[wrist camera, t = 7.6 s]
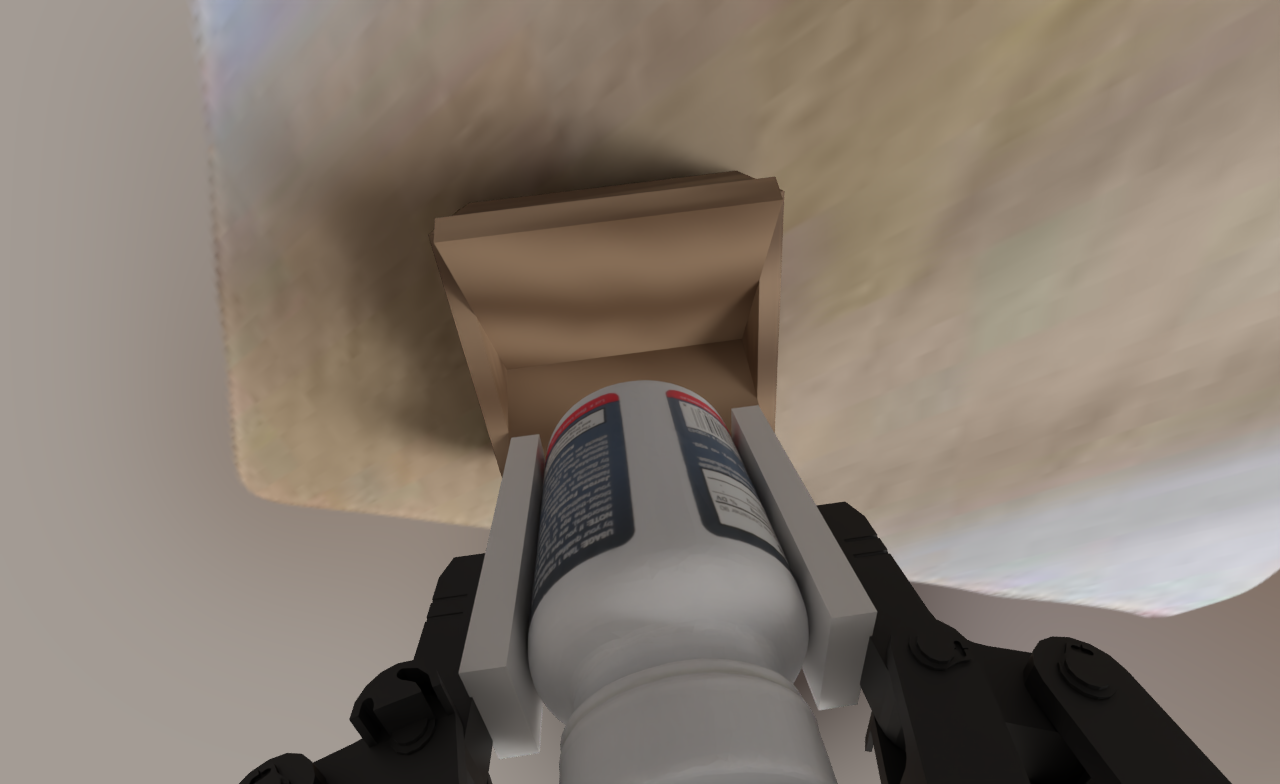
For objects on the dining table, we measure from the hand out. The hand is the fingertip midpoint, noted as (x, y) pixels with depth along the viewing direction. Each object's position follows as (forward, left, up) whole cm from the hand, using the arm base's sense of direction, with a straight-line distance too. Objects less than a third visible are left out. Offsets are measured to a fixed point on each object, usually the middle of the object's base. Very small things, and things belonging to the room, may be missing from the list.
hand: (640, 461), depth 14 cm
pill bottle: (0, 0, -1) cm, 1 cm away
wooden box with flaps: (+3, 0, -17) cm, 17 cm away
